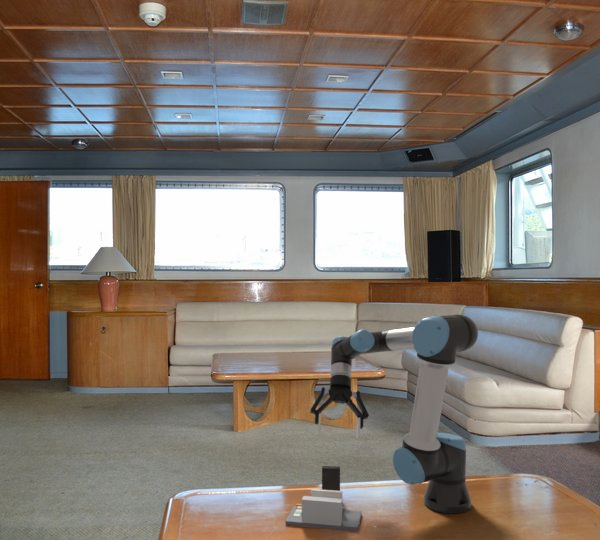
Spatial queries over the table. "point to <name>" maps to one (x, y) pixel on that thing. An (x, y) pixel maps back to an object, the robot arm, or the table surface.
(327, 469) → the door stopper
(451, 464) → the robot arm
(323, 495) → the light gray flat plate
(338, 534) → the table surface
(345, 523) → the base
